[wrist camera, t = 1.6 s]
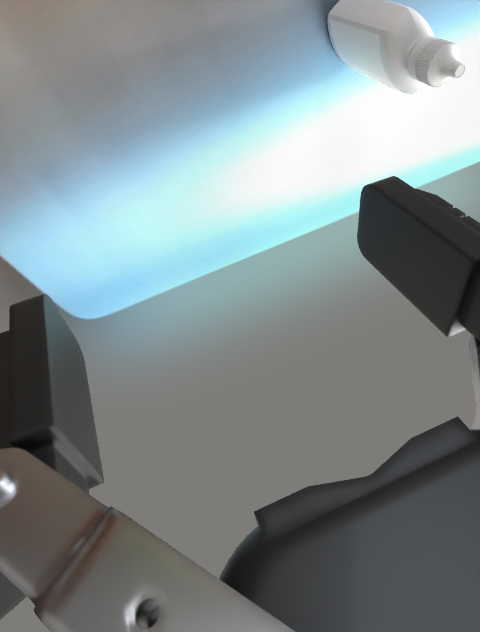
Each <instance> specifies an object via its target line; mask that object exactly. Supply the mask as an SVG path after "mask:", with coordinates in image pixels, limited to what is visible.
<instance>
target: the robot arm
mask: <svg viewBox="0 0 480 632" xmlns="http://www.w3.org/2000/svg"><path fill="white" fill-rule="evenodd" d="M357 239H358V245H359V248H360V251H361V253H362V254H363V256H364V257H365V258H366V259H367V260H368V261H369V262H370V263H371V264H372V265H373V266H374V267H375V268H376V269H377V270H378V271H379V272H380V273H381V274H382V275H383V276H384V277H385V278H386V279H387V280H388V281H389V282H390V283H392V284H393V285H394V286H395V287H396V288H397V289H398V290H399V291H400V292H401V293H402V294H403V295H404V296H405V297H406V298H407V299H409V301H410V302H411V303H412V304H413V305H414V306H415V307H417V308H418V309H419V310H420V311H421V312H422V313H423V314H424V315H425V316H426V317H427V318H428V319H429V320H430V321H431V322H432V323H433V324H435V326H436V327H437V328H438V329H439V330H441V331H442V332H443V333H444V334H445V335H446V336H447V337H450V336H452V335H455V334H457V333H459V332H462V331H464V330H466V329H467V330H468V331H469V332H470V333H471V334H472V335H471V338H470V341H469V351H470V360H471V368H472V378H473V388H474V396H475V418H474V422H473V428H472V430H469V429H468V428H467V426H466V425H465V424H464V423H463V422H462V421H461V420H460V419H459V417H456V418H454V419H451V420H449V421H447V422H445V423H443V424H441V425H439V426H437V427H434V428H432V429H430V430H428V431H426V432H424V433H421V434H420V435H417V436H415V437H413V438H411V439H410V440H409V441H408V442H407V443H406V444H404V445H403V446H402V447H401V448H400V449H399V450H398V451H397V452H396V453H394V454H393V455H392V456H391V457H390V458H389V459H388V460H387V461H386V462H385V463H384V464H382V465H381V466H380V467H379V468H378V469H377V470H376V471H375V472H374V473H372V474H371V475H369V476H366V477H362V478H356V479H350V480H344V481H338V482H332V483H326V484H320V485H315V486H309V487H306V488H304V489H302V490H299V491H298V492H295V493H293V494H291V495H289V496H287V497H284V498H282V499H280V500H278V501H276V502H274V503H272V504H269V505H267V506H266V507H263V508H261V509H259V510H257V511H255V512H254V514H255V517H256V520H257V523H258V527H256V528H255V529H254V530H253V531H252V532H251V533H250V534H249V535H247V537H246V538H245V539H244V540H243V541H242V542H241V543H240V545H239V546H238V547H237V548H236V550H235V551H234V553H233V554H232V556H231V557H230V559H229V560H228V562H227V564H226V566H225V568H224V570H223V571H222V574H221V575H220V578H219V579H218V578H217V577H215V576H214V575H212V574H211V573H209V572H208V571H206V570H205V569H204V568H202V567H201V566H199V565H198V564H196V563H195V562H193V561H192V560H191V559H189V558H187V557H186V556H185V555H183V554H182V553H180V552H179V551H177V550H176V549H175V548H173V547H172V546H170V545H169V544H167V543H166V542H164V541H163V540H162V539H160V538H159V537H157V536H155V535H154V534H153V533H151V532H150V531H148V530H147V529H146V528H144V527H143V526H141V525H139V524H138V523H137V522H135V521H134V520H132V519H131V518H130V517H128V516H127V515H125V514H124V513H122V512H120V511H119V510H117V509H115V508H113V507H110V508H109V507H107V506H105V505H104V504H102V503H101V502H99V501H98V500H96V499H95V498H93V497H92V496H91V495H89V489H90V488H92V487H95V486H97V485H99V484H102V483H104V477H103V472H102V465H101V459H100V453H99V447H98V441H97V435H96V428H95V422H94V416H93V410H92V405H91V398H90V392H89V385H88V379H87V373H86V367H85V361H84V357H83V354H82V351H81V349H80V346H79V344H78V342H77V340H76V338H75V336H74V335H73V333H72V332H71V330H70V329H69V327H68V325H67V324H66V322H65V321H64V319H63V317H62V316H61V314H60V313H59V311H58V309H57V308H56V306H55V305H54V303H53V301H52V300H51V298H50V297H49V296H48V295H47V294H42V295H40V296H36V297H34V298H30V299H28V300H25V301H22V302H19V303H16V304H13V305H11V306H10V329H9V331H6V332H3V333H0V619H1V618H3V617H4V616H5V615H6V614H7V613H8V612H9V611H11V610H12V609H13V608H14V607H15V606H17V605H18V604H19V603H20V602H21V601H22V600H24V599H25V598H26V597H29V599H30V600H31V601H32V602H33V603H34V605H35V608H34V612H35V614H36V615H37V617H38V618H39V619H40V621H41V622H42V623H43V624H44V625H45V626H46V627H47V628H48V629H49V630H50V631H51V632H480V223H479V222H477V221H476V220H474V219H473V218H471V217H470V216H467V217H466V216H465V213H463V212H462V211H460V210H459V209H457V208H453V205H451V204H449V203H448V202H446V201H445V200H443V199H442V198H440V197H438V196H437V195H434V194H431V193H428V192H425V191H421V190H418V189H414V188H413V187H411V186H410V185H408V184H407V183H405V182H404V181H402V180H401V179H399V178H397V177H395V176H392V177H389V178H386V179H383V180H380V181H377V182H374V183H371V184H368V185H366V186H364V188H363V189H362V192H361V198H360V210H359V222H358V234H357Z"/></svg>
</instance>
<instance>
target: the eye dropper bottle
mask: <svg viewBox="0 0 480 632" xmlns="http://www.w3.org/2000/svg"><path fill="white" fill-rule="evenodd" d="M327 22H328V31H329V36H330V39H331V43H332V45H333V48H334V50H335V52H336V54H337V55H338V57H339V58H340V59H341V61H342V62H343V63H344V64H345V65H346V66H348V67H349V68H350V69H352V70H353V71H355V72H357V73H360V74H362V75H364V76H366V77H369V78H371V79H373V80H375V81H378V82H380V83H382V84H384V85H387V86H389V87H391V88H393V89H396V90H398V91H401V92H403V93H406V94H413V93H415V92H417V91H419V90H420V89H421V88H422V87H423V86H424V85H425V84H427V85H430V86H432V87H439V86H441V85H443V84H445V83H446V82H448V81H449V80H450V79H451V77H452V78H459V77H461V76H462V75H463V74H464V72H465V65H463V64H462V63H461V62H460V49H459V47H458V46H457V45H456V44H455V43H452V42H449V41H445V40H442V39H438V38H435V37H434V34H433V32H432V30H431V28H430V26H429V25H428V23H427V22H426V21H425V19H424V18H423V17H422V16H421V15H420V14H419V13H417V12H416V11H415V10H413V9H412V8H410V7H408V6H404V5H401V4H397V3H393V2H388V1H384V0H340V1H339V2H338V3H337V4H336V5H335V6H334V7H333V8H332V9H331V11H330V12H329V14H328V19H327Z"/></svg>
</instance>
